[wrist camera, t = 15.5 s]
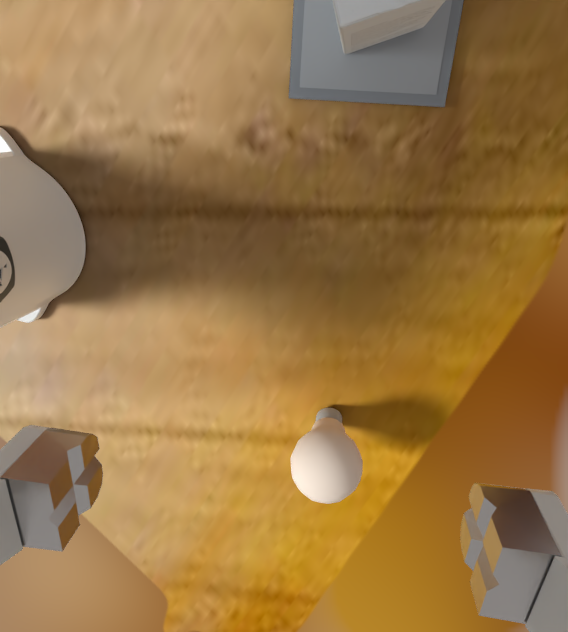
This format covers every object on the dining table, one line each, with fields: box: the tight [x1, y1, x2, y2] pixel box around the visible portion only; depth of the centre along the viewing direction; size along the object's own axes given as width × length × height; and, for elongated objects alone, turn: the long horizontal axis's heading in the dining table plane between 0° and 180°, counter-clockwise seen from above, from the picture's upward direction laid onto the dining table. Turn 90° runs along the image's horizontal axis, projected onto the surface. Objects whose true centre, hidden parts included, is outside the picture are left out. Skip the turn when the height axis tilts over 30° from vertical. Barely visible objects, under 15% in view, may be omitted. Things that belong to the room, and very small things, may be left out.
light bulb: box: [291, 408, 362, 504], centre depth 44 cm, size 7×7×11 cm
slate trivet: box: [289, 0, 464, 107], centre depth 34 cm, size 12×12×1 cm
